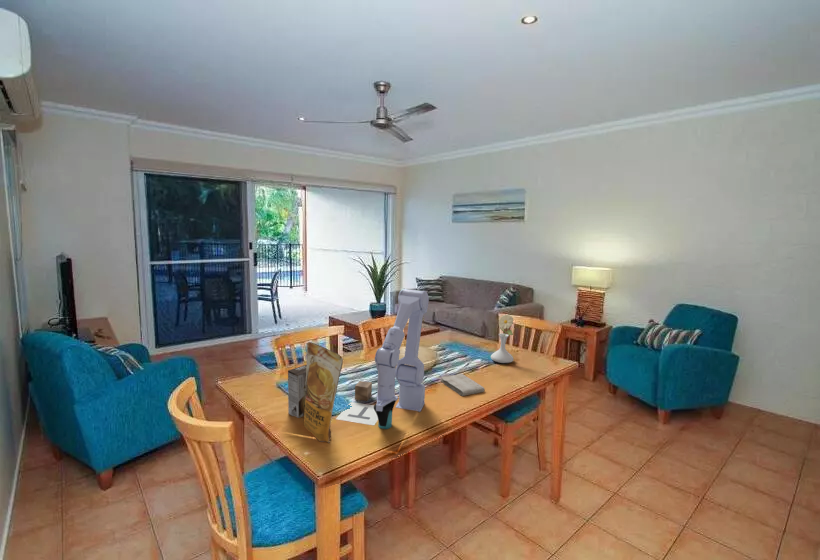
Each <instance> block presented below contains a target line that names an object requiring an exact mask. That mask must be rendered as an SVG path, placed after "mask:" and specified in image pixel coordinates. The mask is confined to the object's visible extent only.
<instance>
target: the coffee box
mask: <svg viewBox="0 0 820 560" xmlns="http://www.w3.org/2000/svg"><path fill="white" fill-rule="evenodd" d="M305 382H306V364H304V365H301V366H297V367H295V368H292V369H289V370H287V384H288V385H287V388H288V389H287V391H288V392H287V394H288V395H287V400H288V403H287V404H288V406H287V407H288V408H287V409H288V414H289V415H290V416H292V417H296V418H297V419H298V418H299V419H301V418H302V417H303V418H304V412H305V399H306V384H305Z"/></svg>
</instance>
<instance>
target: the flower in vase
mask: <svg viewBox="0 0 820 560" xmlns="http://www.w3.org/2000/svg"><path fill="white" fill-rule="evenodd" d="M513 324H514V318H513V316H511V315H510V314H505V315H504V314H503V315H502V316H500V318H499V320H498V327H499V329H500V330H501V331H502V332H504V333H501V332H500V333H498V336H499V338H500V347H499V348H498V349H497V350H496V351H494V352H493V353H492V354H491V355H490V358H491V360H492V361H493V362H496V363H501V364H510V363H512V362H514V357H513V355H512V354H511V353H509V351H507V349H506V342H507V339H508V337H509V336H514V334H513V330H512V329H510V328H511V327H512V325H513ZM505 330H507V331H505Z"/></svg>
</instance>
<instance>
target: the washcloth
mask: <svg viewBox="0 0 820 560" xmlns="http://www.w3.org/2000/svg"><path fill="white" fill-rule="evenodd" d="M440 382H441V383H442V384H444V386H446V387H448V388H449V389H450V390H452V391H453V392H455V393H456V394H457V395H459V396H461V397H465V396H470V395H474V394H480V393H481V394H482V393H484V392H485V390H486V389H485V387H484V386H482V385H481V384H479V383H478V382H476V381H475V380H473V379H471V378H470V377H468V376H466V375H465V374H463V373H456V374H455V375H454V374H453V375H452V374H451V375H449V374H448V375H445V376H441V377H440Z"/></svg>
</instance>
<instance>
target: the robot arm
mask: <svg viewBox="0 0 820 560" xmlns="http://www.w3.org/2000/svg"><path fill="white" fill-rule="evenodd" d="M400 289H401V288H400ZM397 296H398V297H397V302H398V303H397V304H398V310H397V314H396V317H395V321H394V323H393V326H392V327H390V328H389V329H388V330H387V333H386V335H385V338H384V340H383V342H382V345H381V347H379V348H378V349H377V350H376V352H375V356H374V363H375V365H376V367H375V368H376V370H377V392H376V394H377V395H376V403H375V404H373V405H374V410H375V412H376V414H377V417H378V421H379V425H380V426H386V424H387V420H388V415H389V412H390V410H391V411H392V412H393V410H394V407H395V408H396V409H403V410H409V411H414V412H415V411H416V412H419V413H420V412H422V409H423V408H424V405H425V403H426V402H425V398H426V397H425V395H426V385H425V384H423V381H424V378H425V364H424V362H423V361H421V359H420V358H419V351H420V341H421V333H422V327H423V326H422V325H423V318H424V317H423V316H424V315H425V314H427V313H428V308H429V301H430V297H429V294H428V291H426V290H417V289H410V288H402V289H401V290H400V291H399V292H398V294H397ZM407 324H408V326H407V332H406V334H407V335H406V342H405V348H404V349H405V350H404V356H403V357H402V358H400V353H401V350H400V348H401V346H402V344H403V341H404V338H405V332H404V330H405V328H406V325H407ZM396 380H397V383H398V384H399V388H398V389H399V390H398V395H399V396H397V395H396V393H395V392H396V390H395V389H396ZM397 401H398V402H397ZM396 402H397V403H396ZM395 404H396V406H395ZM378 421H377V422H378Z"/></svg>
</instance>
